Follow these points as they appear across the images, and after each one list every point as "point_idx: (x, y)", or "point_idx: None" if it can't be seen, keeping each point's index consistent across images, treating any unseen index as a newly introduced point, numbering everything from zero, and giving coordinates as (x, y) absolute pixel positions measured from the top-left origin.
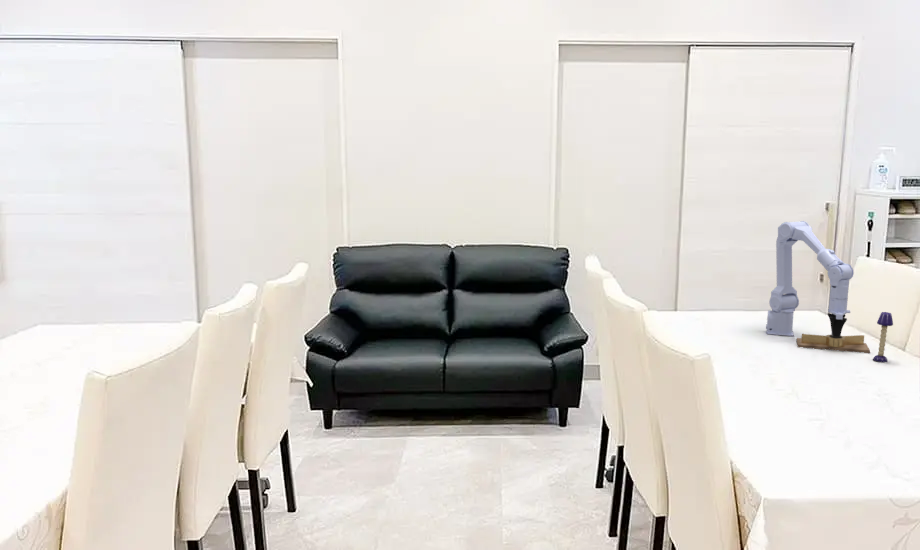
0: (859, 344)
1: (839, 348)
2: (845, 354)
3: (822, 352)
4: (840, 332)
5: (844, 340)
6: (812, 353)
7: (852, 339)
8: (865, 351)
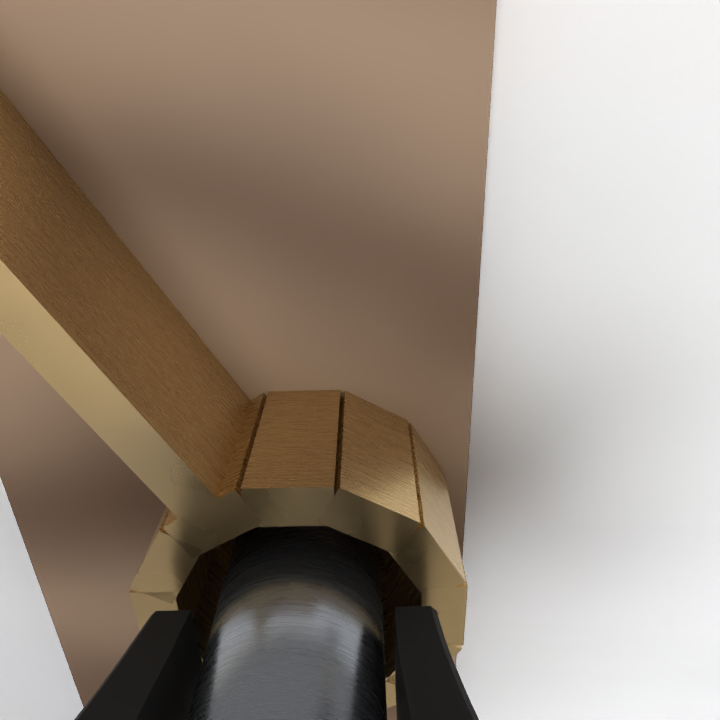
0: (26, 123)
1: (466, 454)
2: (669, 371)
3: (614, 603)
4: (464, 690)
5: (360, 464)
6: (685, 681)
7: (103, 303)
8: (488, 41)
